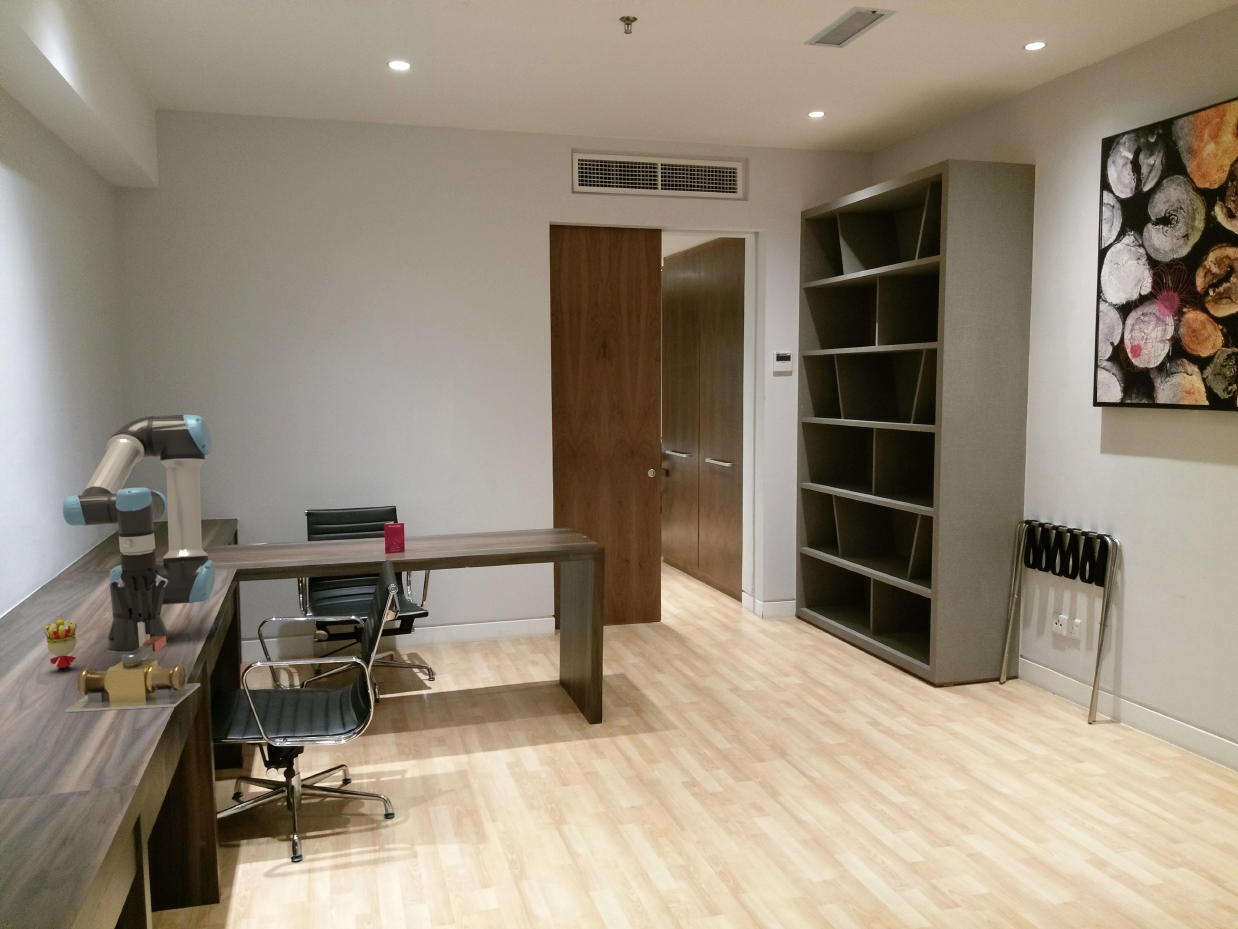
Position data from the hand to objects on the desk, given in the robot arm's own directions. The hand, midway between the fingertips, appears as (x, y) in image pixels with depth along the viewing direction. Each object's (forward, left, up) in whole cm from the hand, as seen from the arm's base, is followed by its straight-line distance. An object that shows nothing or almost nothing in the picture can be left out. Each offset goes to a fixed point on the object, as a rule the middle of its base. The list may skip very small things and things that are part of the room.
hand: (145, 647), depth 215 cm
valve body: (+11, +2, -9) cm, 14 cm away
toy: (-13, -27, -9) cm, 31 cm away
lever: (+5, +2, -1) cm, 5 cm away
